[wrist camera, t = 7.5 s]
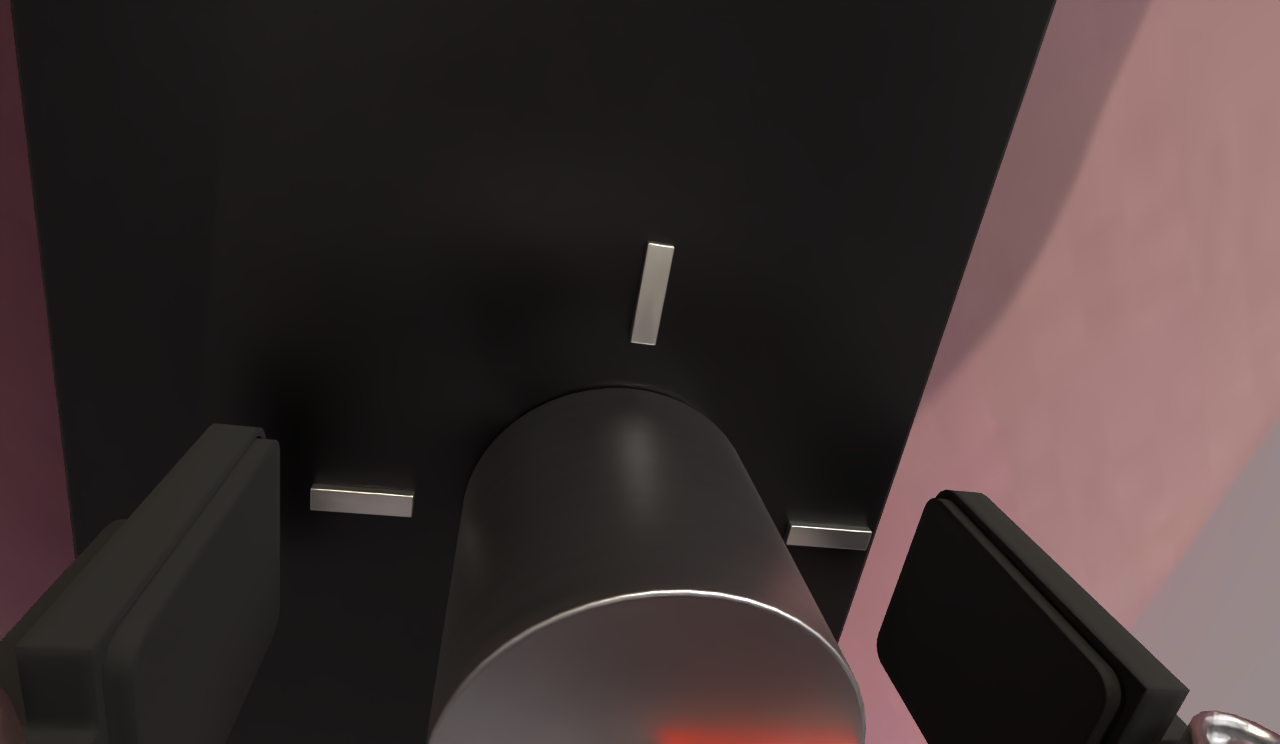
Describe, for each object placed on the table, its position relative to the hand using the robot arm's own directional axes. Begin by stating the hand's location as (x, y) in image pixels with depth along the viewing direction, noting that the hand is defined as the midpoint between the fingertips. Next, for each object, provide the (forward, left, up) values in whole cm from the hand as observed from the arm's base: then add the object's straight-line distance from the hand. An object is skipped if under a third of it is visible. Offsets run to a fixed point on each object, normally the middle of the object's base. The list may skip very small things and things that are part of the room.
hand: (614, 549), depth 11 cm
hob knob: (0, 0, -1) cm, 1 cm away
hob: (-1, -1, -4) cm, 4 cm away
